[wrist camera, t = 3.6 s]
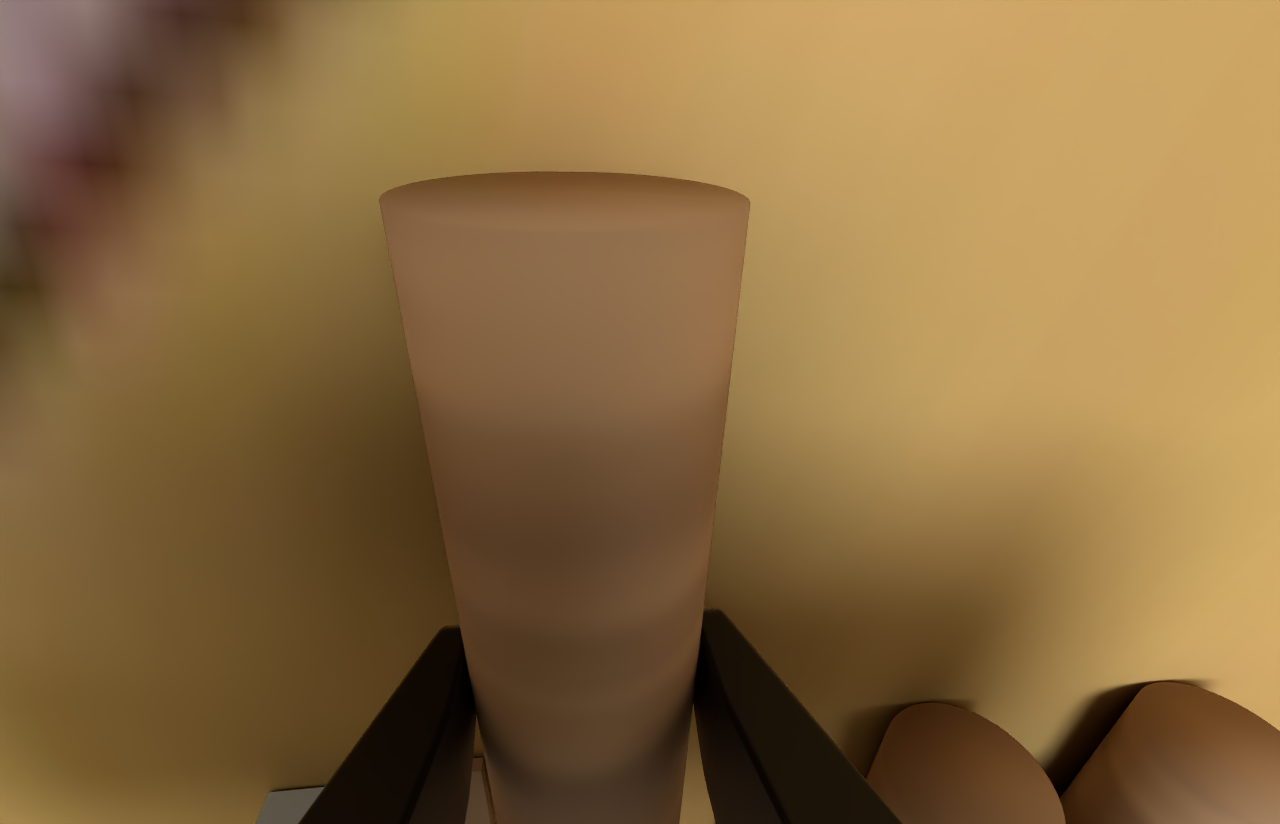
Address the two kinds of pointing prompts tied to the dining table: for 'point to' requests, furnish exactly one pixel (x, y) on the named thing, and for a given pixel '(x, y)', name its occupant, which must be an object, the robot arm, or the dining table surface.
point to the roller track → (1100, 793)
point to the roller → (574, 463)
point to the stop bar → (287, 806)
